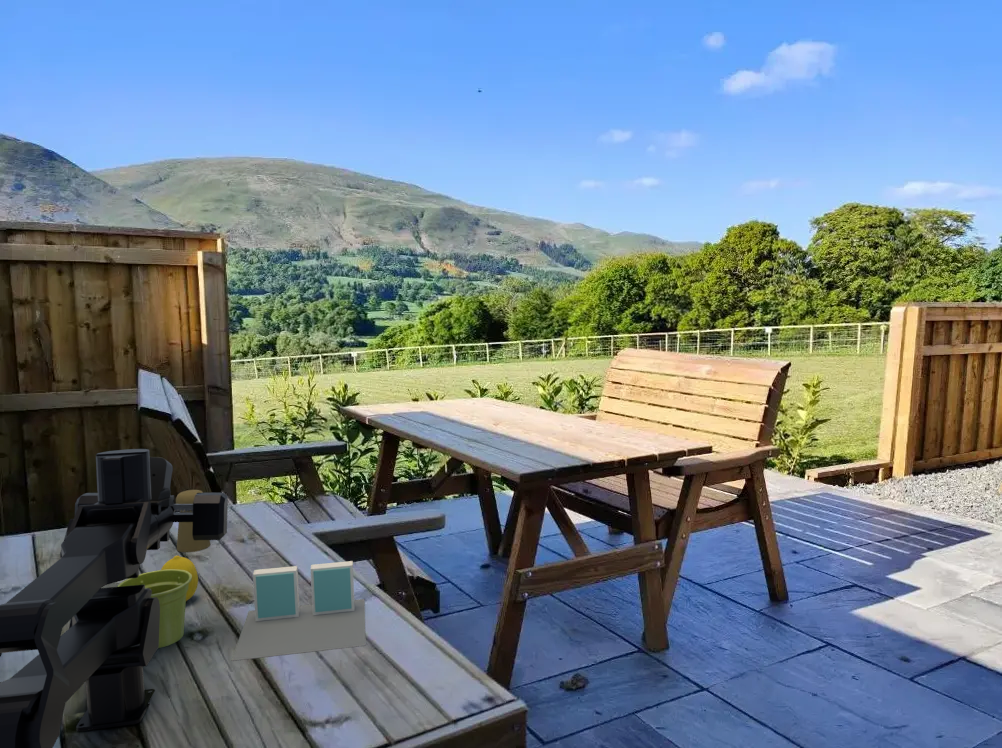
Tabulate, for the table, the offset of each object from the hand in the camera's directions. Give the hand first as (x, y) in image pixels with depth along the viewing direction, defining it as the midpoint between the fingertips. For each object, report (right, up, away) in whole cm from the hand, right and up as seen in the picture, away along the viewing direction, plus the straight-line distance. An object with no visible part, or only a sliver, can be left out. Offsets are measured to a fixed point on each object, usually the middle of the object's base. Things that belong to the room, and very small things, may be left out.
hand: (171, 504), depth 103 cm
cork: (-11, -14, +32) cm, 36 cm away
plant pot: (+1, -18, -6) cm, 19 cm away
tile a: (+16, -16, -1) cm, 23 cm away
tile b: (+24, -16, +1) cm, 29 cm away
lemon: (-1, -17, +5) cm, 18 cm away
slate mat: (+21, -17, -4) cm, 27 cm away
